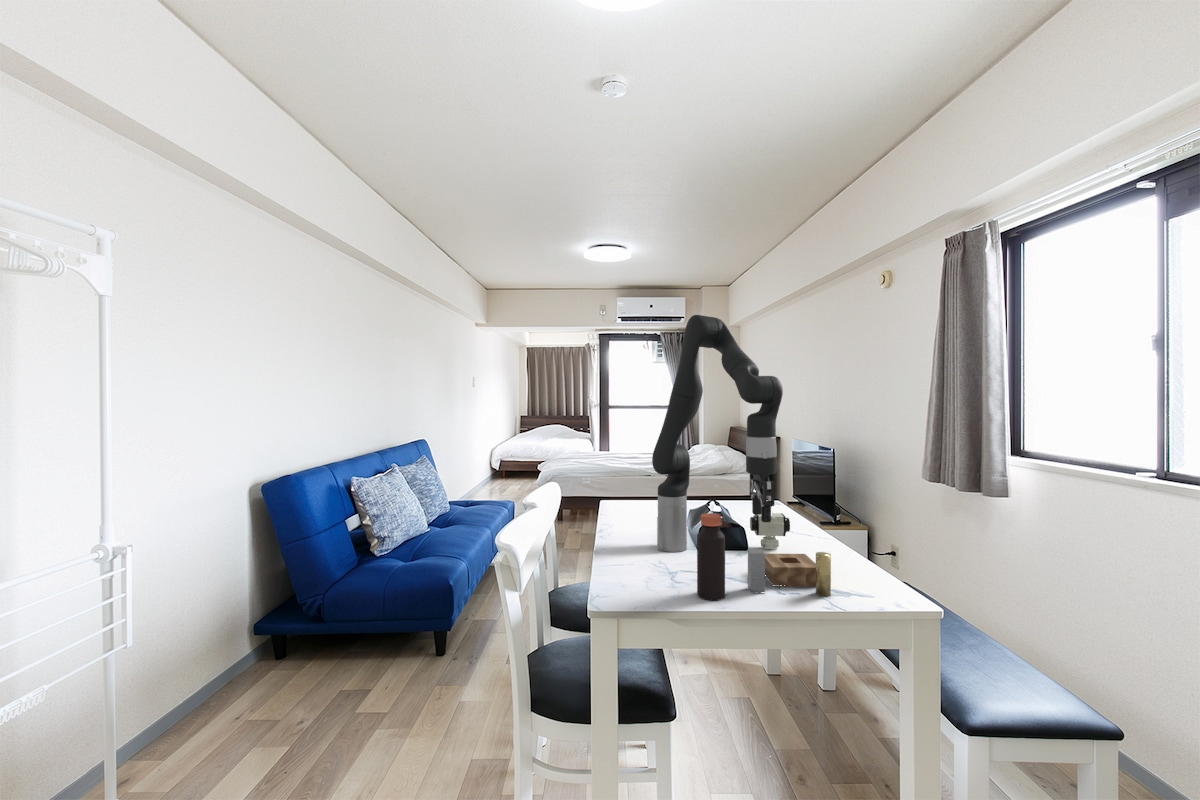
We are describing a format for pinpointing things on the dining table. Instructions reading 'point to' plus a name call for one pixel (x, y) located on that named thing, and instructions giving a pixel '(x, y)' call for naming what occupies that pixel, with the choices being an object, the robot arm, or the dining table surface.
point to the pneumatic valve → (770, 529)
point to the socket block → (790, 569)
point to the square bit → (756, 570)
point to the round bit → (823, 574)
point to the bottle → (711, 558)
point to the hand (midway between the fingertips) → (761, 518)
